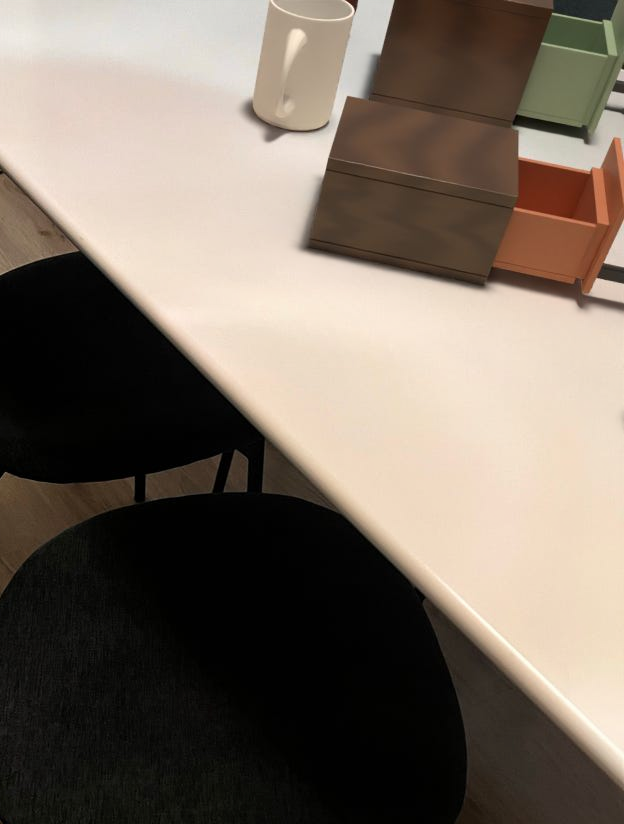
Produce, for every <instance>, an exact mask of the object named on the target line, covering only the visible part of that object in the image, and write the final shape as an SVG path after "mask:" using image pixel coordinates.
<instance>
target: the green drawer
mask: <svg viewBox="0 0 624 824" xmlns="http://www.w3.org/2000/svg"><path fill="white" fill-rule="evenodd" d="M623 65H624V0H617V3H616V6H615V7H614V10H613V13H612V15H611V18H610V20H608V19H602V21H596V20H592V19H586V18H580V17H576V16H570V15H565V14H561V13H556V12H552V15H551V18H550V21H549V24H548V26H547V29H546V32H545V35H544V37H543V40H542V43H541V46H540V49H539V51H538V54H537V57H536V60H535V63H534V65H533V68H532V71H531V74H530V77H529V79H528V82H527V85H526V88H525V90H524V93H523V96H522V99H521V102H520V104H519V107H518V110H517V113H516V115H518V116H522V117H526V118H532V119H538V120H542V121H547V122H553V123H558V124H562V125H567V126H572V127H577V128H582V127H583V126H587V132H588V134H589V135H590V134H591V135H594V134H595V132H596V130H597V128H598V125H599V122H600V120H601V118H602V115H603V114H604V110H605V108H606V106H607V103H608V101H609V98H610V97H611V95H612V92H613V93H619V94H623V95H624V80H619V79H618V77H619V75H620V72H621V70H622V68H623Z"/></svg>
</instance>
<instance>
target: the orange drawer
mask: <svg viewBox="0 0 624 824" xmlns="http://www.w3.org/2000/svg"><path fill="white" fill-rule="evenodd" d="M623 223H624V153H623V146H622V140H621V138H620V137H616V136H614V137H613V138H612V140H611V143H610V145H609V147H608V150H607V152H606V154H605V157H604V159H603V161H602V164H601V166H600V167H595V166H591V168H590V170H585V169H580V168H575V167H570V166H566V165H560V164H558V163H557V164H556V163H551V162H546V161H542V160H537V159H531V158H527V157H523V156H518V199H517V202H516V204H515V207H514V210H513V212H512V215H511V218H510V220H509V223H508V225H507V228H506V231H505V233H504V236H503V238H502V241H501V244H500V246H499V249H498V251H497V254H496V257H495V259H494V262H493V265H492V267H491V268H497V269H502V270H507V271H512V272H516V273H521V274H525V275H531V276H534V277H539V278H544V279H548V280H553V281H557V282H562V283H566V284H572V285H574V284H575V282H576V279H579V280H581V292H582V293H583V294H587V295H589V294H590V293H591V290H592V288H593V287H594V284H595V282H596V280H597V279H599V280H604V281H608V282H613V283H618V284H622V285H624V266H620V265H615V264H611V263H607V262H606V263H605V261H606V259H607V257H608V254H609V253H610V250H611V248H612V245H613V244H614V242H615V239H616V237H617V235H618V234H619V231H620V229H621V227H622V225H623Z"/></svg>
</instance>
